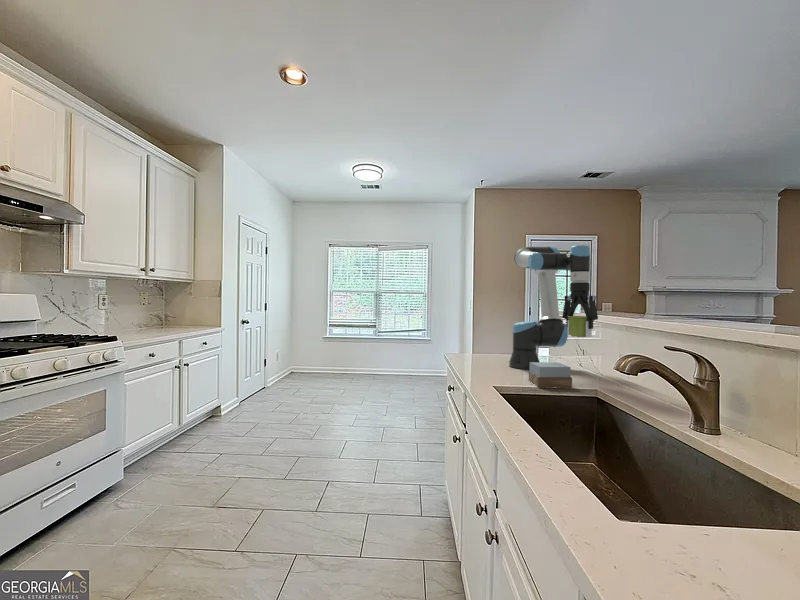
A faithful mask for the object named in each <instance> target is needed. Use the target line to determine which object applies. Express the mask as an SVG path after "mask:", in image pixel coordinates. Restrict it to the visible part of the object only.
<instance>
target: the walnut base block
mask: <svg viewBox="0 0 800 600" xmlns="http://www.w3.org/2000/svg"><path fill="white" fill-rule="evenodd" d="M529 381H530V383H531V382H532V383H533V384H535V385H536V386H537V388H538V387H557V388H556V389H573V377H572V376H570V377H538V376H537V375H535V374H533V373H531V372H529V371H528V382H529ZM532 383H531V384H532ZM533 384H532V385H533ZM535 385H534V386H535ZM536 386H535V387H536ZM559 387H560V388H559Z"/></svg>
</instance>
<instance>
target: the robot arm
mask: <svg viewBox="0 0 800 600" xmlns="http://www.w3.org/2000/svg"><path fill="white" fill-rule="evenodd" d="M590 260H591V250H590V246H589V245H587V244H580V245H576V244H575V245H572V246H571V247H570V250H569V252H560V250H559V249H558V248H557V247H553V246H524V247H522V248H520V249H517V251H516V252H515V253H514V255H513V261H514V263H515V265H516V266H518V267H520V268H523V269H530V270H533V271H534V273H535V274H536V275H538V287H539V301H540V311H541V313H540V314H541V318H540V319H539V320H538V321H536V320H530V321H529V320H526V321H520V322H519V321H518V322H516V323H514V324H513V327H512V353H511V356H510V359H509V362H508V367H510V368H514V369H522V370H530V362H540V359H539V356H538V353H537V347H542V348H544V347H547V348H548V347H550V348H551V347H554V348H556V347H563V346H564V345H566V343H567V341H568V337H569V336H571V329H570V322H569V319H568V317H567V316H575V315H574V314H575V312H576V309H577V307H578V306H579V305H580V306H581V307H582V309H583V311H584V314H585V316H586V317H587V321H586V337H585V338H592V337H593V336H592V335H593V334H592V333H593V331H592V330H593V329H594V321H595V320H596V321H597V320H598V319H599V316H598V311H597V309H598V308H597V303H596V299H597V296H596V295H590V294H589V292H590V291H591V290H590V280H591V279H590V276H591V275H590V273H591V269H590V268H591V265H590V264H591V263H590V262H591V261H590ZM558 271H570V272H569V273H570V275H569V276H570V277H569V278H570V279H569V281H570V285H569V290H570V295H565V296H564V304H563V305H564V306H563V311H562V318H561V317H560V312H559V299H558V289H557V288H558V287H557V278H556V273H557V272H558ZM564 320H566V323H564Z"/></svg>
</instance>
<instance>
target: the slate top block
mask: <svg viewBox="0 0 800 600" xmlns="http://www.w3.org/2000/svg"><path fill="white" fill-rule="evenodd" d="M529 372H531V373H533V374H535V375H537V376H538V377H571V366H568V365H566V364H563V363H560V362H557V361H556V362H542V361H541V362H540V361H539V362H530V369H529V371H528V373H529Z"/></svg>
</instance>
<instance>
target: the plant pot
mask: <svg viewBox="0 0 800 600" xmlns="http://www.w3.org/2000/svg"><path fill="white" fill-rule="evenodd" d="M567 317H568V319H569V322H570V329H571V335H570V336H571V337H573V338H575V337H577V338H587V337H586V321H587V317H586V315H573V316H567Z"/></svg>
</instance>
